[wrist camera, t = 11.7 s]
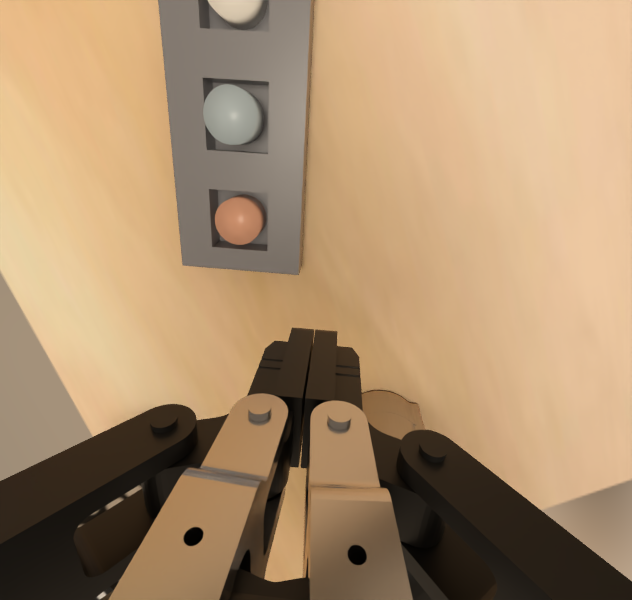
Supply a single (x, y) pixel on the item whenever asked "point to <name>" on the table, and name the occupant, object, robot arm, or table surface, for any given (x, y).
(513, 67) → the table surface
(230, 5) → the offwhite button
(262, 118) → the slate button
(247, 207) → the terracotta button
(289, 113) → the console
